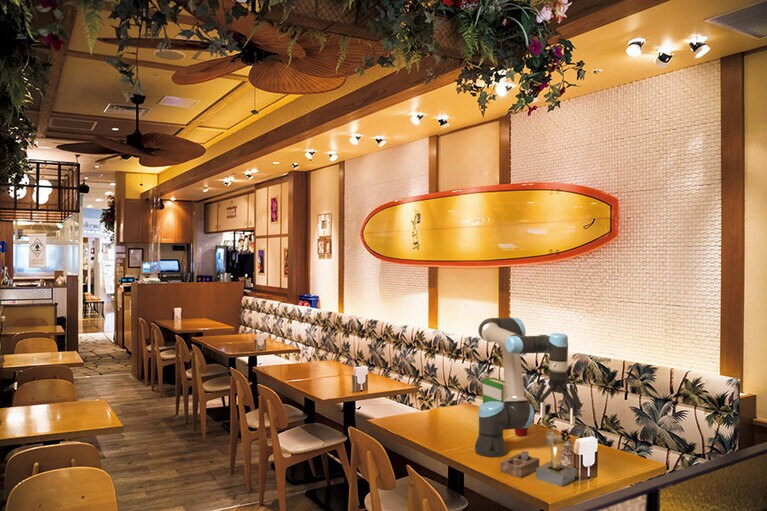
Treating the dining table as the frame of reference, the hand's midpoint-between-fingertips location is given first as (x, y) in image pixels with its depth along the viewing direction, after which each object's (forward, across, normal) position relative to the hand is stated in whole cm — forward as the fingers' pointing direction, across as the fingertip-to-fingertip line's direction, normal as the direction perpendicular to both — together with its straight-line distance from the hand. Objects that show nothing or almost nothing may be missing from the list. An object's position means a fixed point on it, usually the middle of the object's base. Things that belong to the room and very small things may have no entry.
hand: (557, 420), depth 252 cm
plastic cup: (+25, -43, +45) cm, 67 cm away
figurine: (+25, -3, +17) cm, 30 cm away
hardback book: (+25, -64, +55) cm, 88 cm away
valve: (+25, -23, +45) cm, 57 cm away
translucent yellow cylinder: (+25, 0, 0) cm, 25 cm away
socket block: (+25, 0, 0) cm, 25 cm away
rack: (+25, -16, -2) cm, 30 cm away
